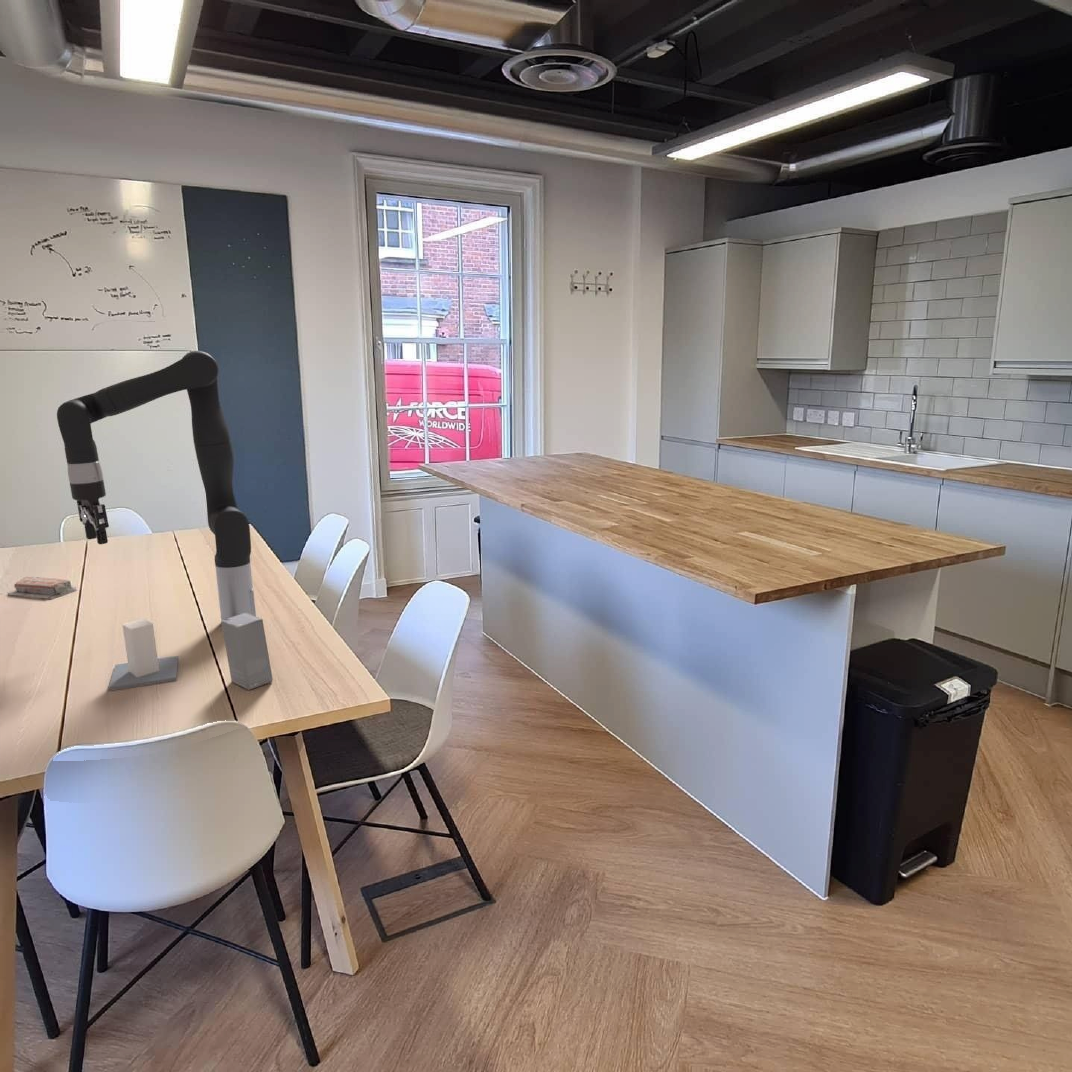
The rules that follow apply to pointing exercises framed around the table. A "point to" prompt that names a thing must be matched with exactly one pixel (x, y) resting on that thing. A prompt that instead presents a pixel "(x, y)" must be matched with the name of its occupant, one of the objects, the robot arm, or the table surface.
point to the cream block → (140, 647)
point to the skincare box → (247, 650)
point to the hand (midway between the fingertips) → (97, 541)
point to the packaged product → (42, 588)
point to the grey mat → (127, 679)
